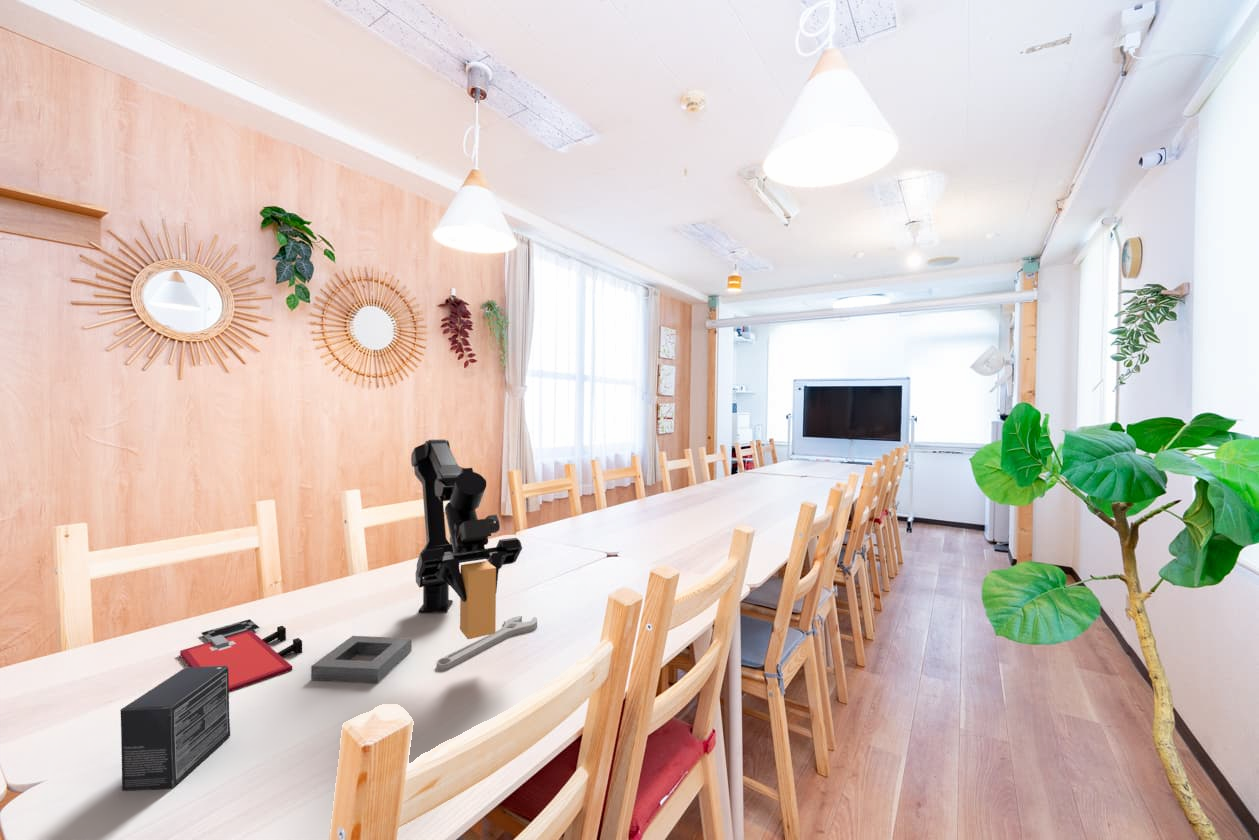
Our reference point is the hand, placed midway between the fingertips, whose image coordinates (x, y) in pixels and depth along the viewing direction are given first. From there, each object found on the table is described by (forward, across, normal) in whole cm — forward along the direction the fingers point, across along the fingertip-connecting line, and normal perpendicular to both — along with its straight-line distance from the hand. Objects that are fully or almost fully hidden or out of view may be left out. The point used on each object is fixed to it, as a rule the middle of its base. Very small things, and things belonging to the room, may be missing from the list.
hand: (480, 597), depth 93 cm
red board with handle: (-12, -37, +32) cm, 50 cm away
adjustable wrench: (+2, +5, +18) cm, 18 cm away
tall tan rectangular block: (+4, 0, +6) cm, 7 cm away
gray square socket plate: (0, -17, +19) cm, 26 cm away
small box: (+11, -41, +8) cm, 43 cm away
